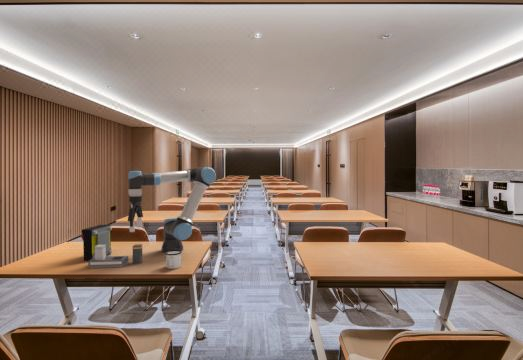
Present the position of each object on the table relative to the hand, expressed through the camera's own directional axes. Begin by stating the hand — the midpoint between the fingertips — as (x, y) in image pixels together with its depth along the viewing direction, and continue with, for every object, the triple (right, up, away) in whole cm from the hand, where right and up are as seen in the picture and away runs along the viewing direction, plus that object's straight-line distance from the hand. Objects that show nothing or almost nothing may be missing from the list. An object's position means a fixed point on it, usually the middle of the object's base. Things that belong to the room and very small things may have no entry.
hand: (135, 229), depth 190 cm
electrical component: (-30, -21, +12) cm, 39 cm away
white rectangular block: (-20, -20, -5) cm, 28 cm away
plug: (+1, -21, 0) cm, 21 cm away
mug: (+26, -21, -9) cm, 35 cm away
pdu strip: (-15, -21, -4) cm, 26 cm away
